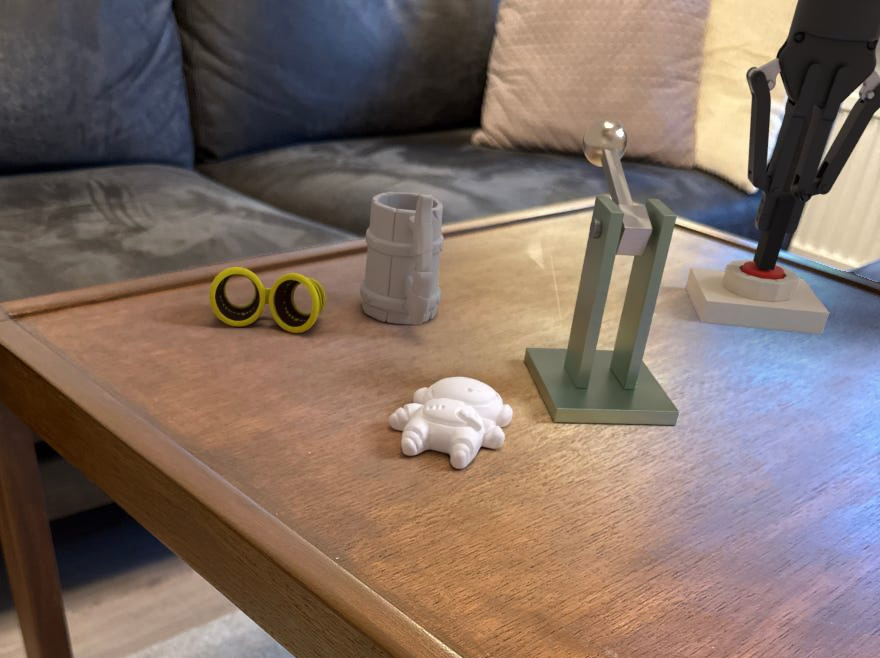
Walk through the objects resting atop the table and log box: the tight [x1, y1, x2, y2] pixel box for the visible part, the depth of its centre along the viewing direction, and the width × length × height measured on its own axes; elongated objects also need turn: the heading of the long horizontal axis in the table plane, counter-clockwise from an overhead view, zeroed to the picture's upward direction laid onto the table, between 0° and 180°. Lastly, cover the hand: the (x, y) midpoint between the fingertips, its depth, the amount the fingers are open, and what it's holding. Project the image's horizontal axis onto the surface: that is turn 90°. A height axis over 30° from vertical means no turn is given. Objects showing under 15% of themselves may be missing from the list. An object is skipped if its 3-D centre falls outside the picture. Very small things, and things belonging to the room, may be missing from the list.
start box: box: [684, 259, 830, 335], centre depth 100 cm, size 12×10×4 cm
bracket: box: [523, 195, 680, 426], centre depth 78 cm, size 12×10×15 cm
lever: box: [582, 116, 653, 257], centre depth 77 cm, size 14×4×4 cm, turn 6°
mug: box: [359, 191, 445, 326], centre depth 88 cm, size 8×12×12 cm, turn 14°
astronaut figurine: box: [388, 376, 514, 470], centre depth 74 cm, size 9×12×3 cm
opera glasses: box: [208, 266, 327, 334], centre depth 87 cm, size 10×5×5 cm, turn 85°
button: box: [742, 261, 784, 280], centre depth 99 cm, size 4×4×2 cm
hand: (763, 264), depth 98 cm, fingers closed
